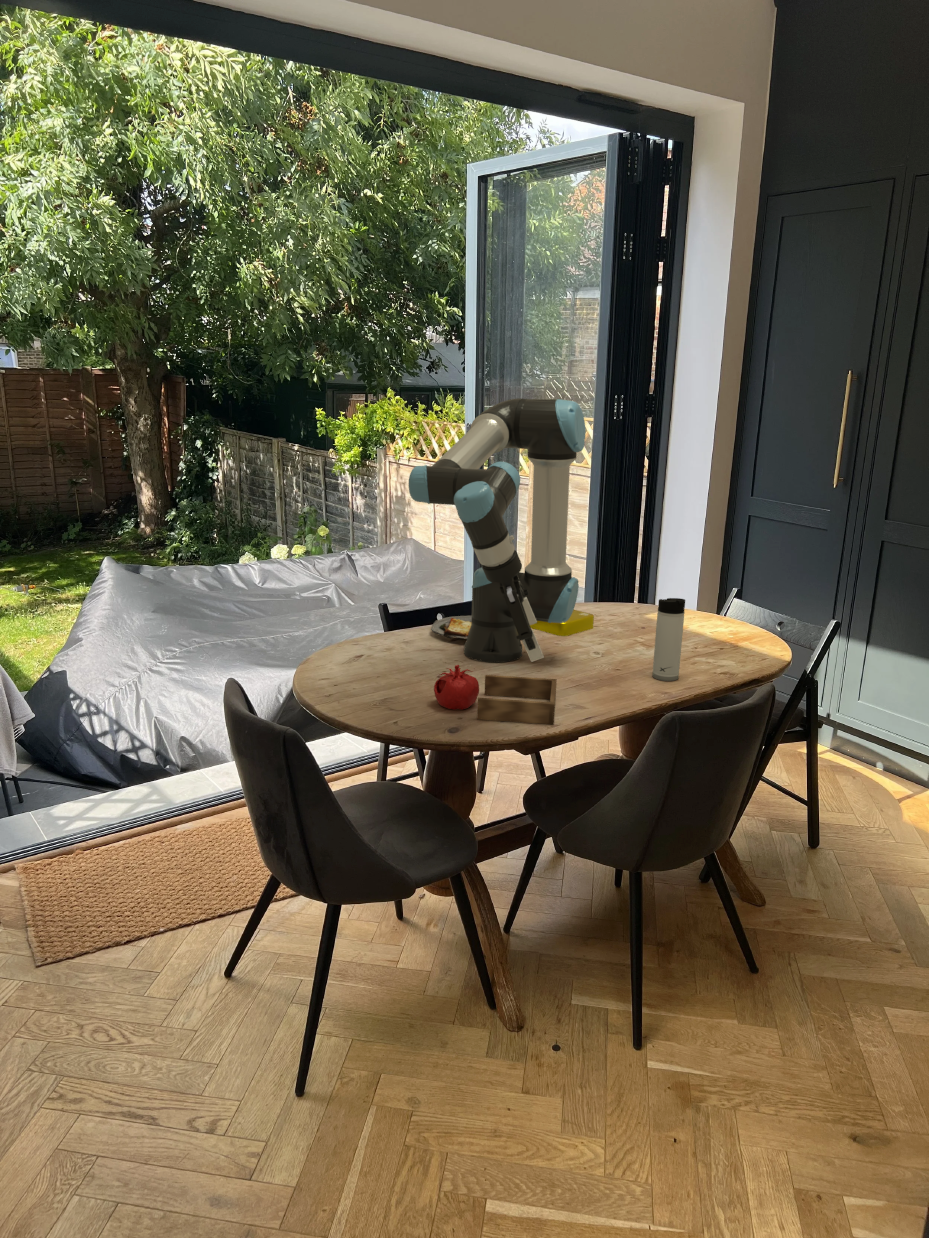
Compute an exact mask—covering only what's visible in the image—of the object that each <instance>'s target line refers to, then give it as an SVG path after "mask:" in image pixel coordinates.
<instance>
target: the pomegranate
mask: <svg viewBox="0 0 929 1238" xmlns="http://www.w3.org/2000/svg"><path fill="white" fill-rule="evenodd" d="M445 669H446V670H448V671H449V672H445V671H444V672H442V673H441V674H438V675H439V676H440V677H439V678H437V680H436V681H435V683H434V685H433V692H434V693H433V694H434V696H435V699H436V701H437V704H439V705H440V706H441V707H443V708H445V709H448V710H453V711H455V710H460V711H461V710H466V709H469V708H470V707H471V706H473V705H474V704H475V703H476V702H477V700H478V697H479V693H480V684H479V681H478V679H477V678H476V677H474V676H472V675H470V674H468V673H466V672H472V673H473V672H474V671H471V670H470V669H467V668H466V669H463V670H462V671H461V667H460V665H459V664H456V665H455V664H454V671H453V669H452V668H450V667H449V668H447V667H446V668H445Z"/></svg>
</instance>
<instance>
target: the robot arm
mask: <svg viewBox="0 0 929 1238" xmlns="http://www.w3.org/2000/svg"><path fill="white" fill-rule="evenodd" d="M585 440H586V422H585V417H584V413H583V410H582V407H581V406H580V404H578V402H577V401H573V400H568V399H567V400H566V399H562V398H561V399H560V398H558V399H555V398H554V399H553V398H551V399H550V398H546V399H544V398H541V399H540V398H518V397H517V398H511V399H506V400H503V401H501V402H498V403H495V404H494V405H492V406H490V407H489V408H487V409H485V410H483V411H482V412H481V413H479V415H477V416H476V417H475V418H474V419H473V421H472V422H471V425H470V428H469V430H468V431H467V432H466V433H465V434H463V436H462V437H461V438H459V440H457V442H455V443H454V444H453V445H452V446H451V447H450V448H449V449H448V450H447V451H446V452H445V453H444V454H443V455H442V456H441V457H440V458H439V459H438V460H437V461H435V463H434V464H433V465H432V466H431V465H427V464H425V465H416V466H414V467H413V468H412V469H411V471H410V473H409V477H408V493H409V495H410V497H411V499H412V501H415V502H417V503H425V504H427V505H431V504H433V505H446V506H447V505H449V506H453V505H454V507H455V509H456V512H457V516H458V518H459V519H460V520H461V521H460V522H461V524H462V525H463V527H464V529H465V532H466V534H467V536H468V538H469V540H470V542H471V545H472V549H473V551H474V553H475V555H476V558H477V559H478V562H479V564H480V565H481V567H479V568H478V569H476V570H475V571H474V573H473V575H472V576H473V577H472V586H471V593H472V594H471V616H472V624H471V628H470V631H469V634H468V637H467V639H466V641H465V642H464V646H463V654H464V655H465V657H467V658H469V659H472V660H474V661H479V662H483V663H484V662H486V663H507V662H512V661H517V660H519V659H520V658H521V657H522V656H523V647H524V648H525V651H526V653H527V655H528V658H529V660H530V662H531V663H532V662H536V661H538V660H542V659H544V653H543V651H542V648H541V647H540V644H539V642H538V639H537V637H536V635H535V633H534V630H532V628H531V627H530V625H532V624H535V623H537V621H544V622H548V623H551V622H553V623H564V622H566V621H567V620H568V619H569V618H570V616H571V614H572V612H573V610H575V606H576V604H577V603H576V602H577V599H578V595H579V594H578V593H579V589H580V588H579V579H578V578H576V577H574V576H572V574H573V573H572V572H573V570H572V569H573V568H571V566H570V565H569V564H568V563H567V562H566V561H567V541H568V539H567V537H568V519H569V518H568V516H569V515H568V514H569V497H570V496H569V493H570V492H569V491H570V490H569V489H570V471H571V469H570V467H571V465H572V464H573V463H574V461H576V460H577V457H578V456H577V455H578V454H577V453H581V452H582V451H583V450H584V448H585V444H586V443H585V442H586V441H585ZM505 449H521V450H527V459H528V460H529V461H530V463H532V465H533V471H532V472H533V474H532V475H533V478H532V479H533V480H532V508H531V509H532V514H531V515H532V518H531V520H532V521H531V544H530V545H531V548H530V549H531V551H530V552H531V553H530V555H531V556H530V562H529V563H528V564H527V565H526V566H525V567H524V572H521V571H522V568H523V563H522V561H521V559H520V557H519V553H518V552H517V550H516V547H515V545H514V542H513V541H514V540H515V536H514V535H513V534H512V535H510V533H509V530H508V528H507V525H506V523H505V520H504V518H503V516H504V514H505V513H506V512H507V509H508V508H509V506H510V505H511V503H512V501H513V499H515V498H516V495H517V493H518V490H519V488H520V485H521V476H520V472H519V471H518V470H517V468H516V467H515V466H514V465H512V464H511V463H509V462H507V461H497V462H493V463H492V464H490V465H489V466H488V467H487V468H486V469H480V468H481V467H482V466H483V465H484V464H485V463H486V462H487V461H488V460H489V458H490V457H491V456H493V454H497V453H500V452H501V451H503V450H505Z"/></svg>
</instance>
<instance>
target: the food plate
mask: <svg viewBox="0 0 929 1238" xmlns="http://www.w3.org/2000/svg"><path fill="white" fill-rule="evenodd" d="M471 624H472V615H460V616H459V615H458V616H455V615H454V616H449V617H448V616H447V617H444V618H440V619H437V620H435V621H434V622H433V624H431V627H430V630H431V632H432V633H434V634H437V635H439V636H442V637H447V638H449V639H453V638H454V639H460V640H461V639H463V640H467V637H468V634H469V631H470V628H471Z"/></svg>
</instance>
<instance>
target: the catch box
mask: <svg viewBox="0 0 929 1238" xmlns="http://www.w3.org/2000/svg"><path fill="white" fill-rule="evenodd" d="M484 696H495V697H509V698H511V697H512V698H523V699H539V700H549V701H537V700H536V701H535V700H522V699H507V698H493V697H492V698H490V697H477V711H476V712H477V714H476V715H477V717H476V718H477V719H476V720H481V721H496V722H512V723H513V722H514V723H523V724H524V723H526V724H540V725H541V724H542V725H554V724H555V713H556V712H555V711H556V701H557V700H556V698H557V679H556V678H546V677H545V678H544V677H543V678H541V677H527V676H526V677H525V676H513V675H512V676H511V675H510V676H509V675H494V674H485V675H484Z"/></svg>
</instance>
